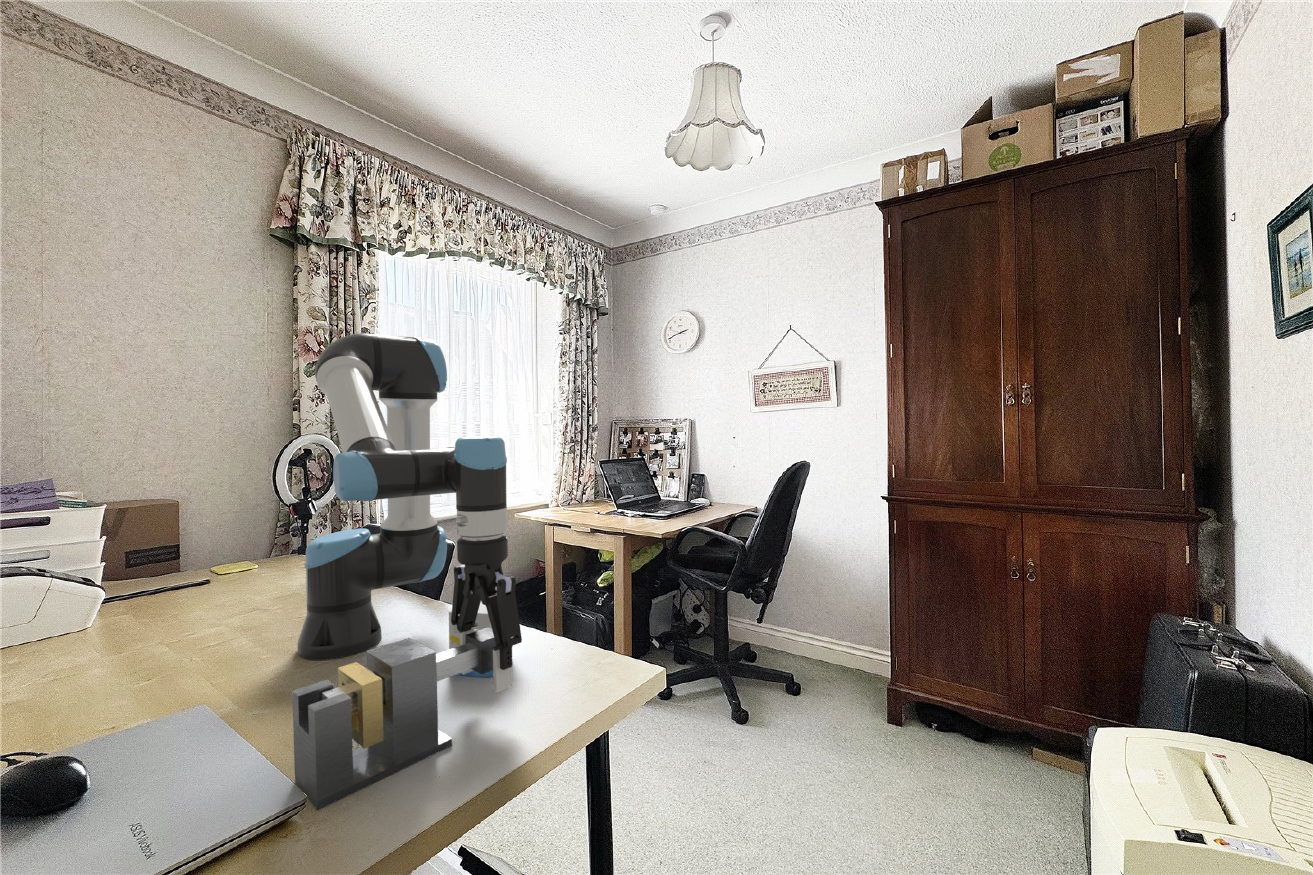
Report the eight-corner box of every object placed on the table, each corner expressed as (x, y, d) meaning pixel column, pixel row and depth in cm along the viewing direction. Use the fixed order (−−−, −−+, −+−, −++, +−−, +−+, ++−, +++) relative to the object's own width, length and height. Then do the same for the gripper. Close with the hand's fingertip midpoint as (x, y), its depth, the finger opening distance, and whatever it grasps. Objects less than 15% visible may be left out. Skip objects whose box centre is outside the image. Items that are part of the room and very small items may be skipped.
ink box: (491, 678, 99) (489, 613, 99) (448, 674, 101) (446, 611, 100) (512, 658, 107) (511, 598, 107) (472, 655, 109) (471, 596, 109)
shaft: (320, 720, 71) (319, 682, 71) (488, 658, 89) (487, 627, 89) (333, 733, 68) (332, 692, 68) (504, 665, 86) (504, 633, 86)
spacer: (339, 726, 74) (337, 667, 74) (358, 719, 76) (356, 661, 76) (363, 748, 69) (362, 685, 69) (383, 740, 71) (381, 678, 71)
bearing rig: (295, 782, 70) (291, 673, 70) (424, 726, 83) (422, 633, 83) (317, 810, 65) (314, 692, 65) (452, 745, 78) (449, 647, 78)
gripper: (425, 531, 90) (429, 668, 91) (501, 549, 76) (504, 711, 77) (467, 524, 96) (470, 653, 96) (544, 540, 82) (547, 691, 82)
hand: (485, 679), depth 86 cm, fingers open, 9 cm apart
